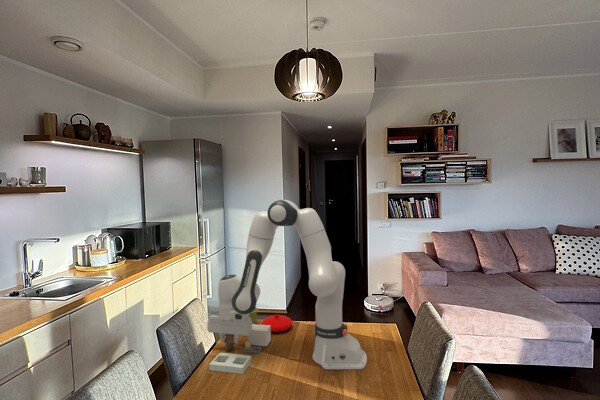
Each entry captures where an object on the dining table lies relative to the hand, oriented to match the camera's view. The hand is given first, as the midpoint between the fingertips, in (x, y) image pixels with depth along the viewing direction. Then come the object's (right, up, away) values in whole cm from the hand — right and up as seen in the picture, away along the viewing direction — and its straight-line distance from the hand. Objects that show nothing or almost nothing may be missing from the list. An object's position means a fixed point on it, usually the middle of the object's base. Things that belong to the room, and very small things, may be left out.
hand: (230, 342), depth 142 cm
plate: (+10, -3, -1) cm, 11 cm away
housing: (+12, -3, +6) cm, 14 cm away
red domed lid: (+19, -2, +21) cm, 29 cm away
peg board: (+3, -4, -13) cm, 14 cm away
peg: (0, -3, 0) cm, 3 cm away
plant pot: (+5, -2, +25) cm, 25 cm away
